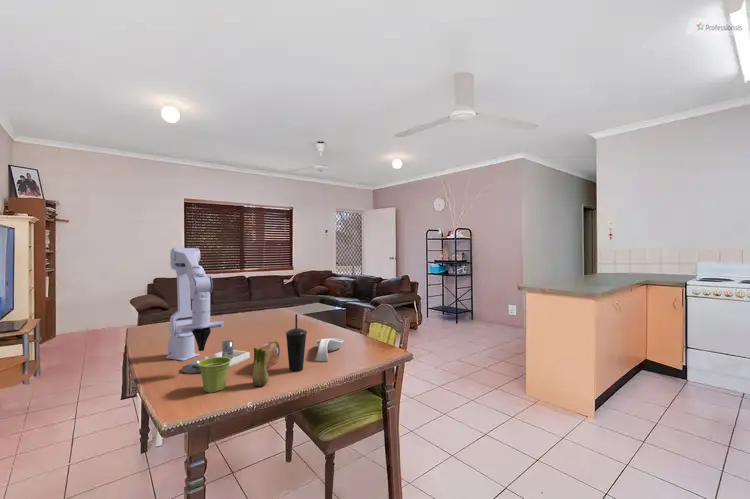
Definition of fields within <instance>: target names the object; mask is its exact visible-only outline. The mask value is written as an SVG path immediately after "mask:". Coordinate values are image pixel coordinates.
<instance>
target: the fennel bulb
mask: <svg viewBox="0 0 750 499" xmlns="http://www.w3.org/2000/svg"><path fill="white" fill-rule="evenodd" d="M265 355H266V350H265V349H263V347H262V348H259V347H258V346H254V347H253V368H252V383H253V386H255V387H262V386H265V385H267V383H268V382H269V373H268V371H267V370H268V369H267V370H266V363H265Z"/></svg>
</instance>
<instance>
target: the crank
mask: <svg viewBox="0 0 750 499" xmlns="http://www.w3.org/2000/svg"><path fill="white" fill-rule="evenodd" d="M210 358H213V357H210ZM200 361H201V359H193V360H191V364H192V367H200V366H199V365H198V362H200Z"/></svg>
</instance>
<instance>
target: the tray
mask: <svg viewBox="0 0 750 499" xmlns="http://www.w3.org/2000/svg"><path fill="white" fill-rule="evenodd" d="M250 354H251V353H250V351H245V350H243V351H242V350H235V349H233V358H232V359H231V362H230V364H229V367H228V369H229V368H230V367H234V366H236V365H238V364H240V363H243V362H245V361H247V360H249V359H251V358H250V356H251V355H250ZM210 357H222V350H221V351H219V352H216V353H213V354H210V355H209V356H208V355H207V356H205V357H203V359H202V360H204V359H208V358H210Z"/></svg>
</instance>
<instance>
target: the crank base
mask: <svg viewBox="0 0 750 499" xmlns="http://www.w3.org/2000/svg"><path fill="white" fill-rule="evenodd" d="M181 373H183V374H185V375H188V374H189V375H193V374H194V375H195V374H200V373H201V370H200V367H192V363H188V364H186V365H184V366H182V367H181Z"/></svg>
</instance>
